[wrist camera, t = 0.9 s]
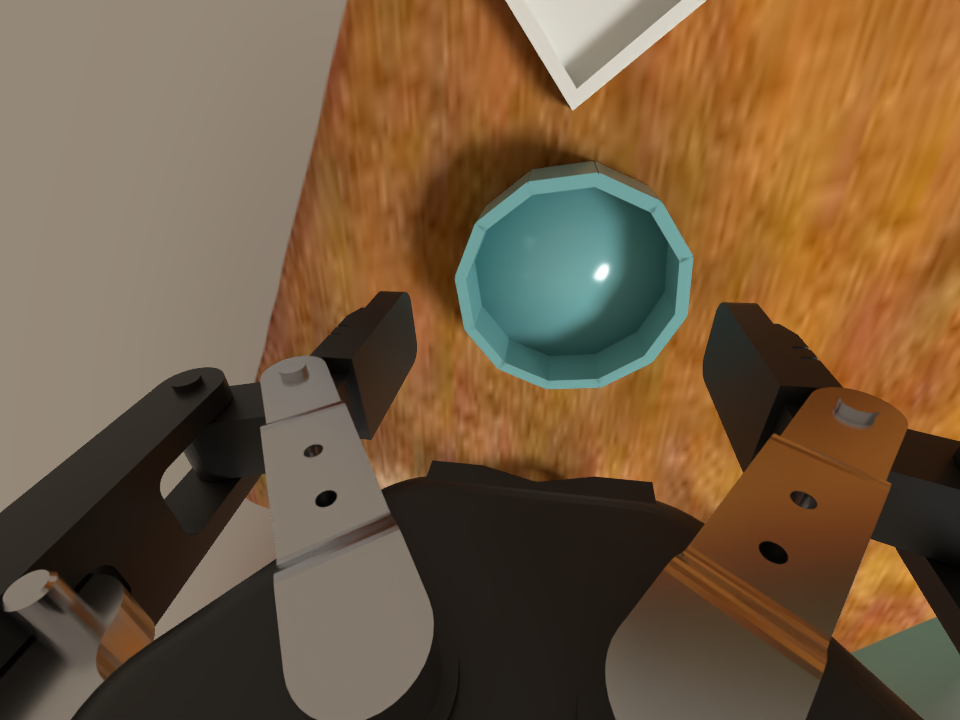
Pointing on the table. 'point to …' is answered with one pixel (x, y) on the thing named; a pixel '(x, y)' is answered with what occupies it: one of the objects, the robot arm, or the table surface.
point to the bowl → (574, 277)
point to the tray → (594, 36)
